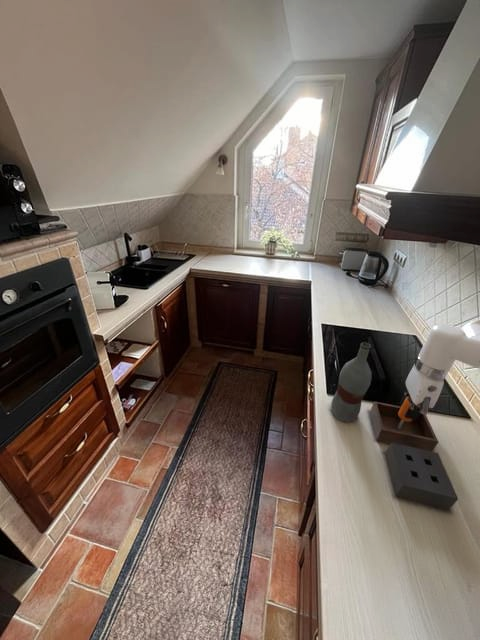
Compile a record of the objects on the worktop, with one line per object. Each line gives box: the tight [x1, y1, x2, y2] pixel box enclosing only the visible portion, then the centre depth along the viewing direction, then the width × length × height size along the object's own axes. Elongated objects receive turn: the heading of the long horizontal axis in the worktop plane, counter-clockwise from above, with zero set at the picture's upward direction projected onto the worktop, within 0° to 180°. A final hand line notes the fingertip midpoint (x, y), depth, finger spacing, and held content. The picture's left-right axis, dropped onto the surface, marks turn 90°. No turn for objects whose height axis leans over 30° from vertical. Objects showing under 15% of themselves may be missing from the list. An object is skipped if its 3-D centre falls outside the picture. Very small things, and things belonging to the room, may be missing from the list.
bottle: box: [330, 341, 373, 423], centre depth 83 cm, size 9×9×30 cm
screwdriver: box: [398, 396, 420, 429], centre depth 80 cm, size 4×4×13 cm
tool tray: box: [369, 401, 439, 452], centre depth 83 cm, size 16×12×6 cm
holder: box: [384, 443, 459, 511], centre depth 69 cm, size 12×12×6 cm
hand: (407, 411), depth 79 cm, fingers closed on screwdriver, 4 cm apart
